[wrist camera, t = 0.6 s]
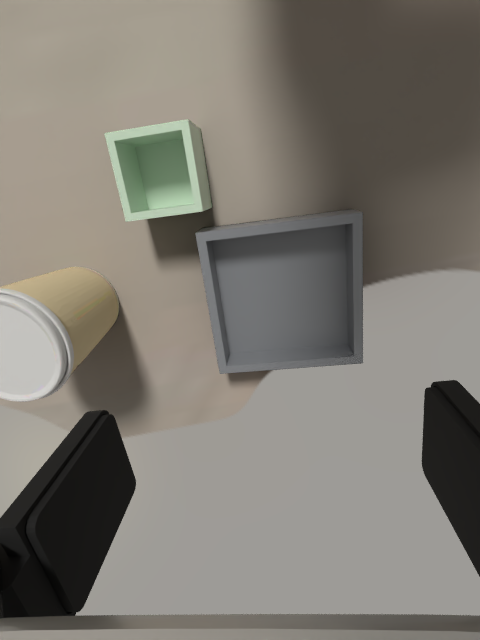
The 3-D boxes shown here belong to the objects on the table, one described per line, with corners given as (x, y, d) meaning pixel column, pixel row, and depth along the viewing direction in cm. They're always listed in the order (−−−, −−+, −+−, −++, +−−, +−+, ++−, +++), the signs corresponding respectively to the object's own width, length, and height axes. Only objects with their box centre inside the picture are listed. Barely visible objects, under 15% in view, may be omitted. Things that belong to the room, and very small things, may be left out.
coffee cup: (46, 335, 38) (-44, 396, 27) (37, 252, 35) (-71, 284, 24) (127, 346, 38) (70, 413, 27) (126, 264, 35) (59, 302, 24)
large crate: (202, 228, 33) (195, 233, 29) (352, 208, 31) (362, 211, 28) (224, 357, 38) (219, 373, 34) (354, 347, 36) (362, 363, 33)
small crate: (129, 141, 30) (104, 133, 26) (200, 129, 30) (187, 119, 25) (146, 216, 33) (125, 221, 28) (212, 207, 32) (203, 211, 27)
